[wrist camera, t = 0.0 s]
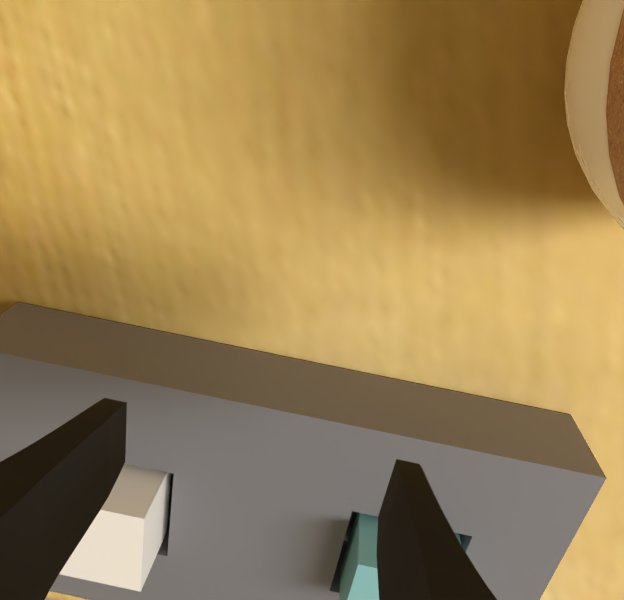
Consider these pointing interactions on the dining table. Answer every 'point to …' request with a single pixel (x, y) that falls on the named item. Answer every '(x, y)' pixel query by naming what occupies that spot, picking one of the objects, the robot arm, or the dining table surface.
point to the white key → (125, 531)
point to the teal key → (361, 561)
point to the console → (293, 457)
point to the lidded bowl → (598, 99)
